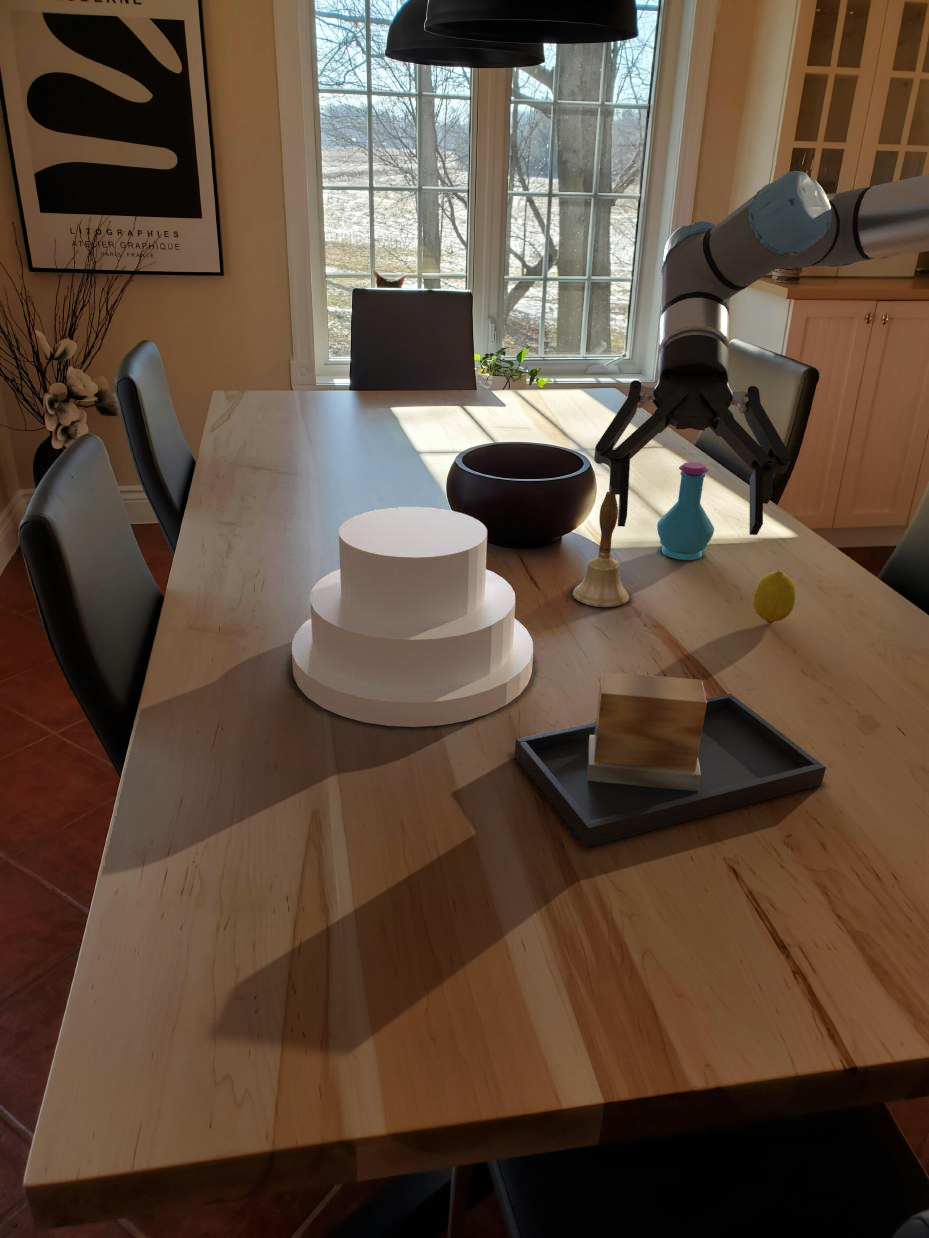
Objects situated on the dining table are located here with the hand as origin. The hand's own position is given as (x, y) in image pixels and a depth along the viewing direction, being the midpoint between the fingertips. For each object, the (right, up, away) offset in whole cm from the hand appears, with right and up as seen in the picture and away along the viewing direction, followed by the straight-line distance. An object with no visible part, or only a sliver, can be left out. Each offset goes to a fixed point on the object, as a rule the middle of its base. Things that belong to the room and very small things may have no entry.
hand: (688, 525), depth 93 cm
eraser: (-5, -25, 0) cm, 26 cm away
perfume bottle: (+13, +1, +57) cm, 59 cm away
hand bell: (-3, -7, +41) cm, 41 cm away
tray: (-2, -26, +1) cm, 26 cm away
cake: (-30, -15, +21) cm, 39 cm away
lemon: (+20, -11, +34) cm, 40 cm away
